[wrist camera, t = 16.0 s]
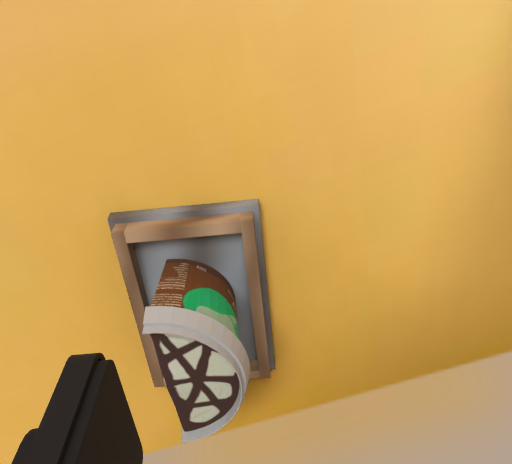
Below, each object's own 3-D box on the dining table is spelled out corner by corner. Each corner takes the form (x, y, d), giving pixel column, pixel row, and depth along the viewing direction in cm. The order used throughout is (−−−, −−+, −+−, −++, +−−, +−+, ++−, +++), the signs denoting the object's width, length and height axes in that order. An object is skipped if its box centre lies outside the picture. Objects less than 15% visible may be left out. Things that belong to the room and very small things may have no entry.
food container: (258, 345, 46) (262, 438, 37) (194, 353, 46) (182, 447, 38) (236, 233, 40) (234, 314, 31) (162, 244, 40) (139, 327, 31)
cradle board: (258, 199, 39) (259, 214, 37) (274, 361, 48) (276, 380, 46) (110, 213, 39) (102, 228, 37) (154, 371, 49) (150, 391, 46)
